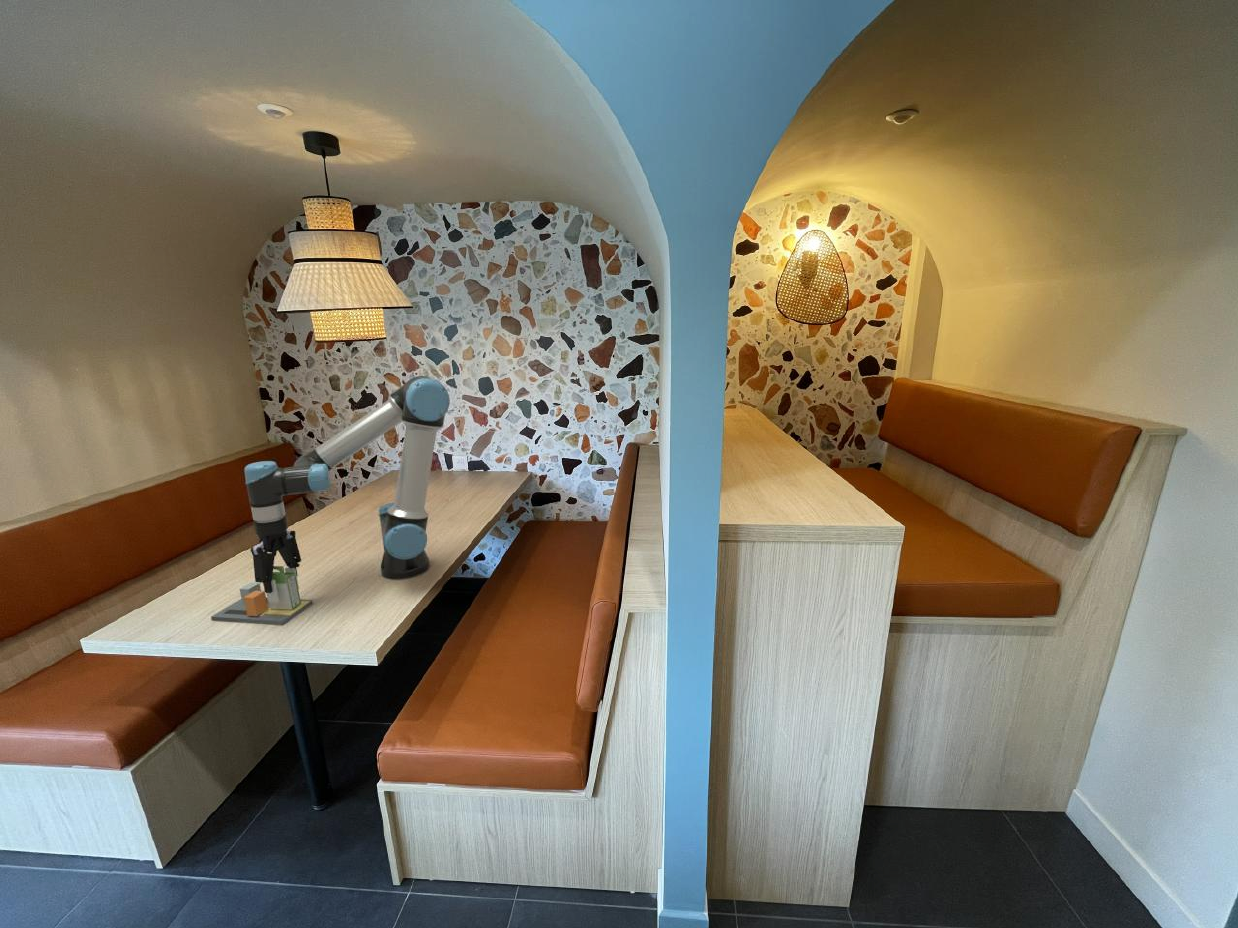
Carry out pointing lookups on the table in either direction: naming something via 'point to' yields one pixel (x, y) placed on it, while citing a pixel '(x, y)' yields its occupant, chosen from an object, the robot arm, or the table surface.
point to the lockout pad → (285, 610)
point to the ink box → (285, 589)
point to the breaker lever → (255, 603)
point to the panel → (239, 614)
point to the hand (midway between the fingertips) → (284, 595)
